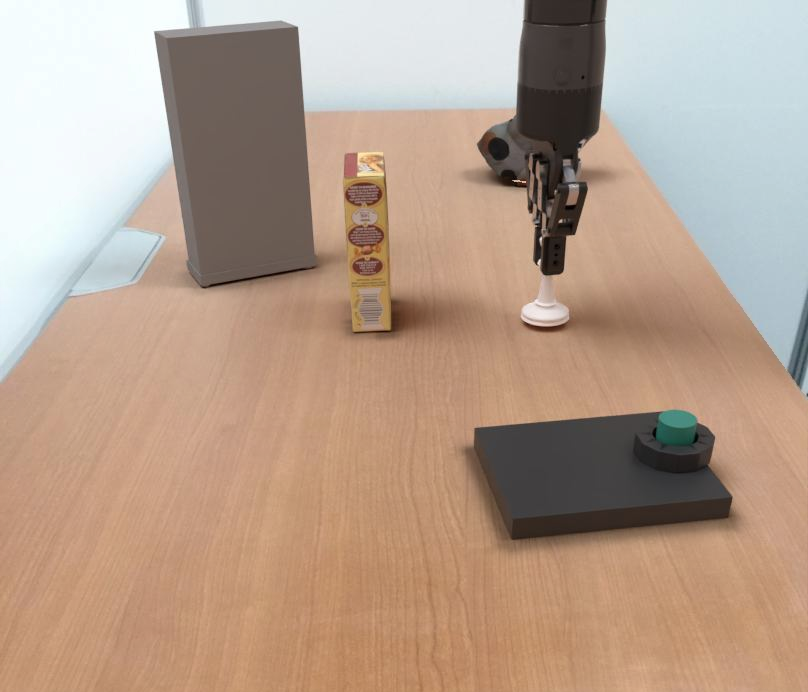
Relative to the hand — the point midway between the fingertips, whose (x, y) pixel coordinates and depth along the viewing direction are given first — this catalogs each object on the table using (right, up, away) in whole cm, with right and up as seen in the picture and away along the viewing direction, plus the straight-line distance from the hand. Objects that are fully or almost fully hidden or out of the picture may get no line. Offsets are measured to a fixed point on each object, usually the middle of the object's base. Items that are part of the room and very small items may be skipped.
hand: (547, 268), depth 94 cm
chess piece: (0, -4, +3) cm, 5 cm away
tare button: (+6, -19, -22) cm, 30 cm away
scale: (0, -22, -21) cm, 31 cm away
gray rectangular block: (-32, +4, +17) cm, 36 cm away
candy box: (-18, -4, +6) cm, 19 cm away
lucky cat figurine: (+5, +27, +47) cm, 54 cm away
